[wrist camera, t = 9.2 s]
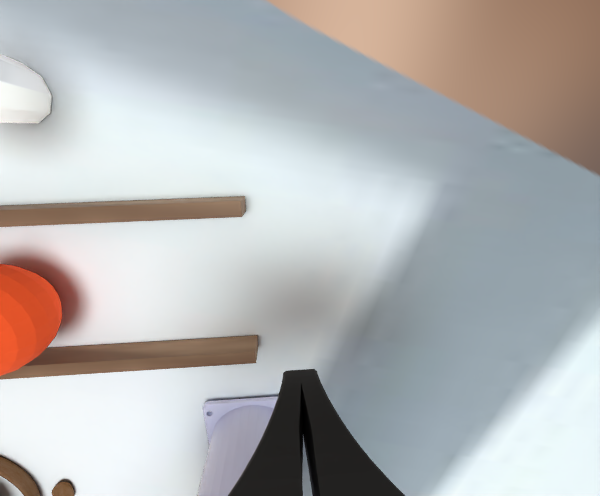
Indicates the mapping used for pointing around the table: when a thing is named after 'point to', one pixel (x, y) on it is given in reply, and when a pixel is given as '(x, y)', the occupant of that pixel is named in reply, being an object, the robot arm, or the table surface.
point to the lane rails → (141, 352)
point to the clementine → (25, 316)
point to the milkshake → (22, 93)
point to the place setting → (29, 480)
